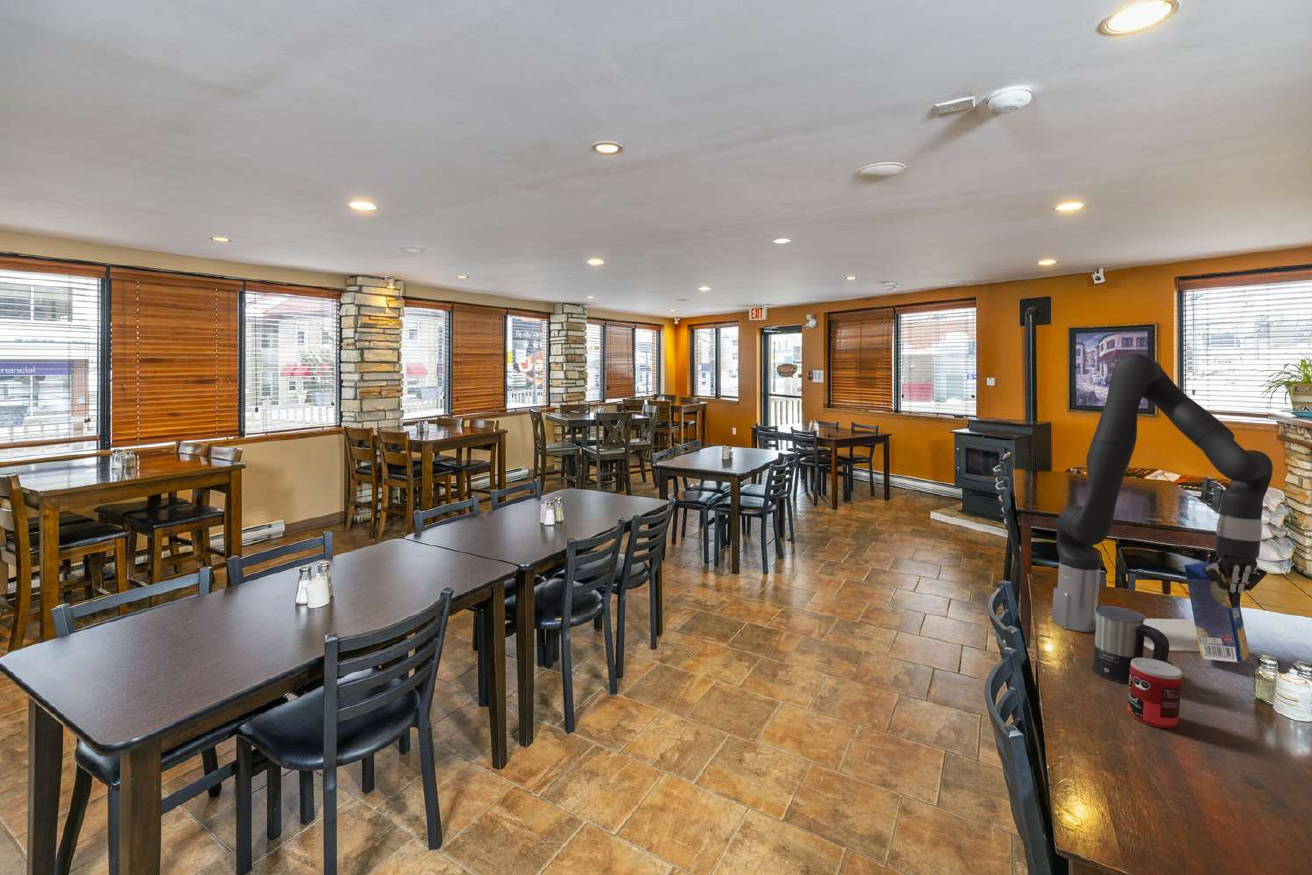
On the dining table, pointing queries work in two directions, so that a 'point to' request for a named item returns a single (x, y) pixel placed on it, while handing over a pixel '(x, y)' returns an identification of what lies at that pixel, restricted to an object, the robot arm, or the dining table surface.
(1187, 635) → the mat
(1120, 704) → the dining table surface
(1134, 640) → the milk frother
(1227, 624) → the beverage box
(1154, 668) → the canned food
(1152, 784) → the dining table surface
